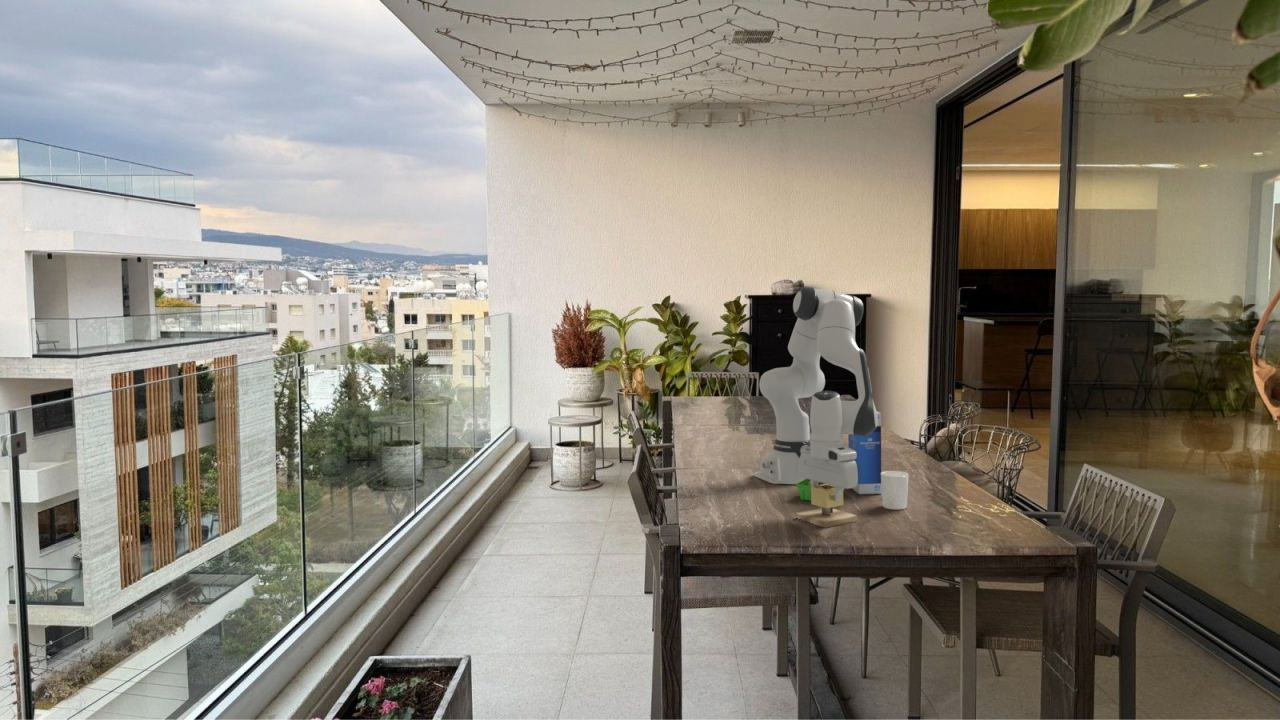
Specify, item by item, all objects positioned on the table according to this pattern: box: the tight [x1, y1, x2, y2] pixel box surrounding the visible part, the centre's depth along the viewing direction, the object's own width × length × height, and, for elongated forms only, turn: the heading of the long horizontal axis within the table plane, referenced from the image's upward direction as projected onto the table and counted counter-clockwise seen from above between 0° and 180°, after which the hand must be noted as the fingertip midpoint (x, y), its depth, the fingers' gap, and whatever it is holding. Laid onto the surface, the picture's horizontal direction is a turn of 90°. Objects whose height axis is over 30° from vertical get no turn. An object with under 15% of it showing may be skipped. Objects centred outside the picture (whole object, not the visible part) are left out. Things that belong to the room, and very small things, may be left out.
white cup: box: [881, 470, 909, 511], centre depth 246 cm, size 8×8×10 cm
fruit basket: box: [795, 479, 826, 502], centre depth 260 cm, size 11×9×11 cm
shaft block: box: [795, 507, 858, 528], centre depth 234 cm, size 12×12×8 cm
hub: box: [810, 484, 844, 508], centre depth 234 cm, size 6×6×5 cm
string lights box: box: [847, 411, 882, 495], centre depth 268 cm, size 13×8×26 cm, turn 0°
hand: (827, 498), depth 234 cm, fingers closed on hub, 6 cm apart
